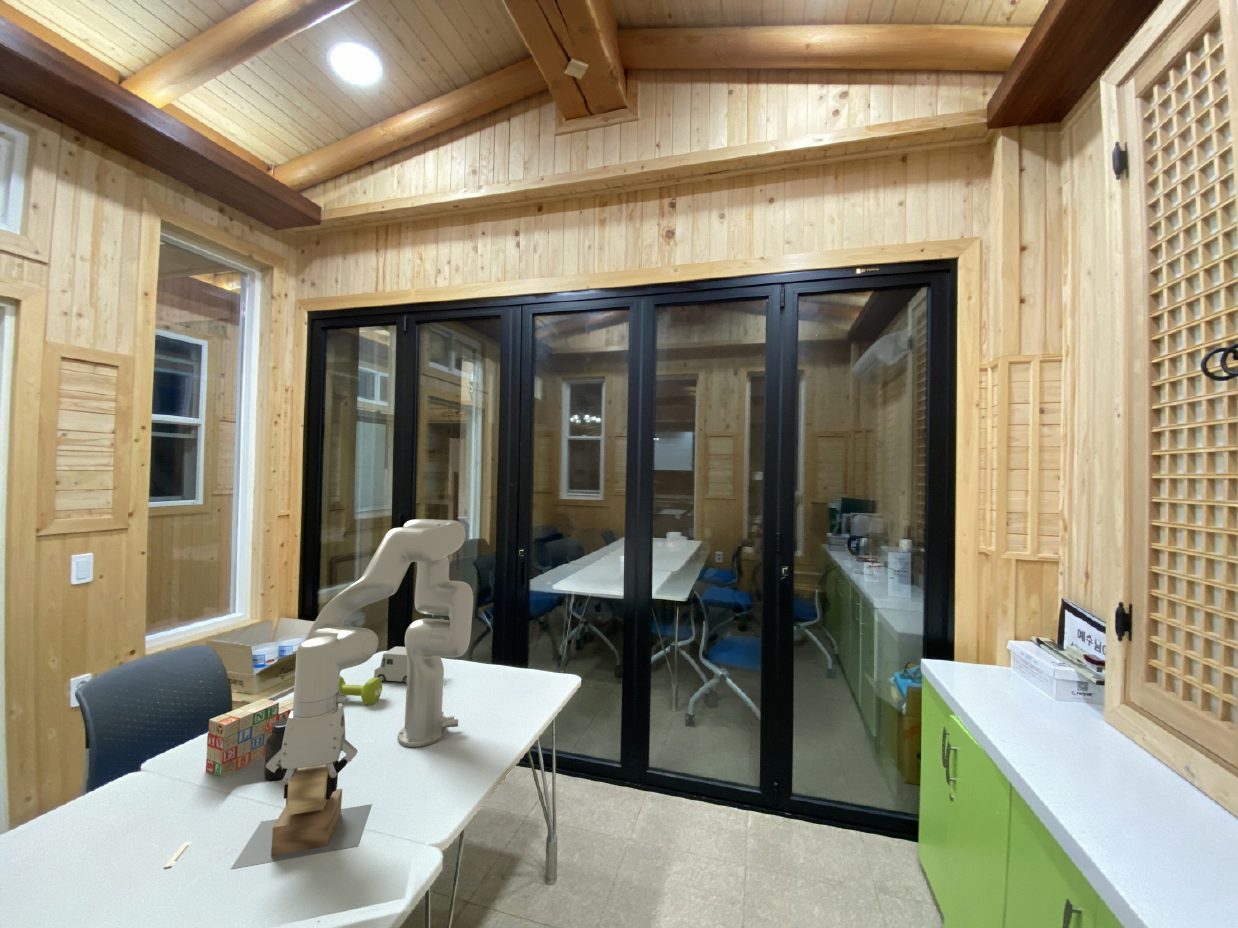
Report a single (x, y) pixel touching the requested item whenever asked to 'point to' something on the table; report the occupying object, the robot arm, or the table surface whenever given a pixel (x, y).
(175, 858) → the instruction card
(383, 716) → the table surface
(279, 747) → the supplement bottle
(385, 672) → the toy vehicle
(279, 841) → the brick
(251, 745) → the stack of blocks
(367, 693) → the dumbbell
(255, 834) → the board
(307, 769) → the oak brick
